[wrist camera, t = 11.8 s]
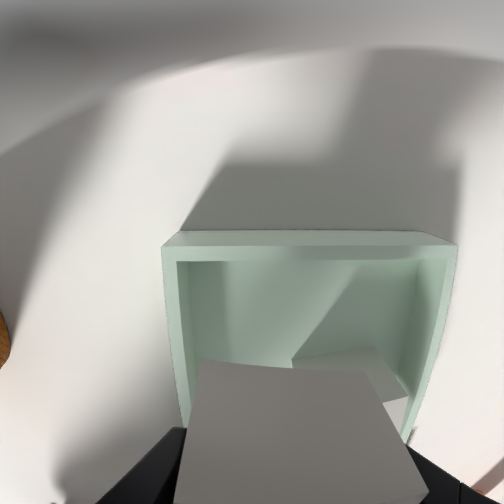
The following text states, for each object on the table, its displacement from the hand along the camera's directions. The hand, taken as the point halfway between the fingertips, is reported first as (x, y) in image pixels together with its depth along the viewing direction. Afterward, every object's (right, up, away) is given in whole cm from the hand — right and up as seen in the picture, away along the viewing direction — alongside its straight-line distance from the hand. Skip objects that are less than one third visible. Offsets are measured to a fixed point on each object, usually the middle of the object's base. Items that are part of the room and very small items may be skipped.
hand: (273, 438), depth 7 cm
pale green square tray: (+2, 0, +7) cm, 8 cm away
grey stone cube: (0, 0, 0) cm, 0 cm away
